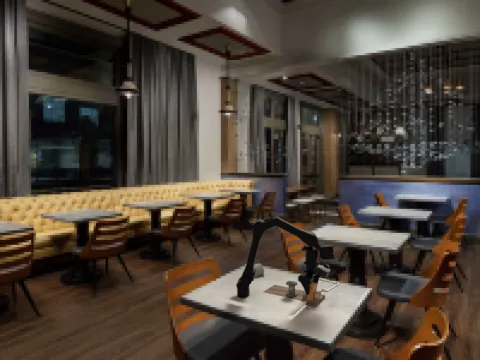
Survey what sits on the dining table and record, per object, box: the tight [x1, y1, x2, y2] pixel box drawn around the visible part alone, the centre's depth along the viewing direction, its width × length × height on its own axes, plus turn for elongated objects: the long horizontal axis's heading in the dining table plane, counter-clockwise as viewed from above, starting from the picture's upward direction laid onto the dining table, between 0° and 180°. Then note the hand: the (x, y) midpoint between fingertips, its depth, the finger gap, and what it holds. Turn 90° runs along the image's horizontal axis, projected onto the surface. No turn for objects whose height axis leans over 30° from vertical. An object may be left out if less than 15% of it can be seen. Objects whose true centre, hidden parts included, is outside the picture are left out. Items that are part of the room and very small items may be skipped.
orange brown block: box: [307, 282, 318, 301], centre depth 165 cm, size 3×5×7 cm, turn 147°
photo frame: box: [319, 277, 341, 293], centre depth 188 cm, size 15×1×18 cm
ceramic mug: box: [254, 263, 265, 280], centre depth 199 cm, size 11×8×8 cm
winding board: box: [263, 280, 326, 308], centre depth 171 cm, size 12×28×8 cm, turn 56°
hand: (311, 291), depth 165 cm, fingers open, 9 cm apart
